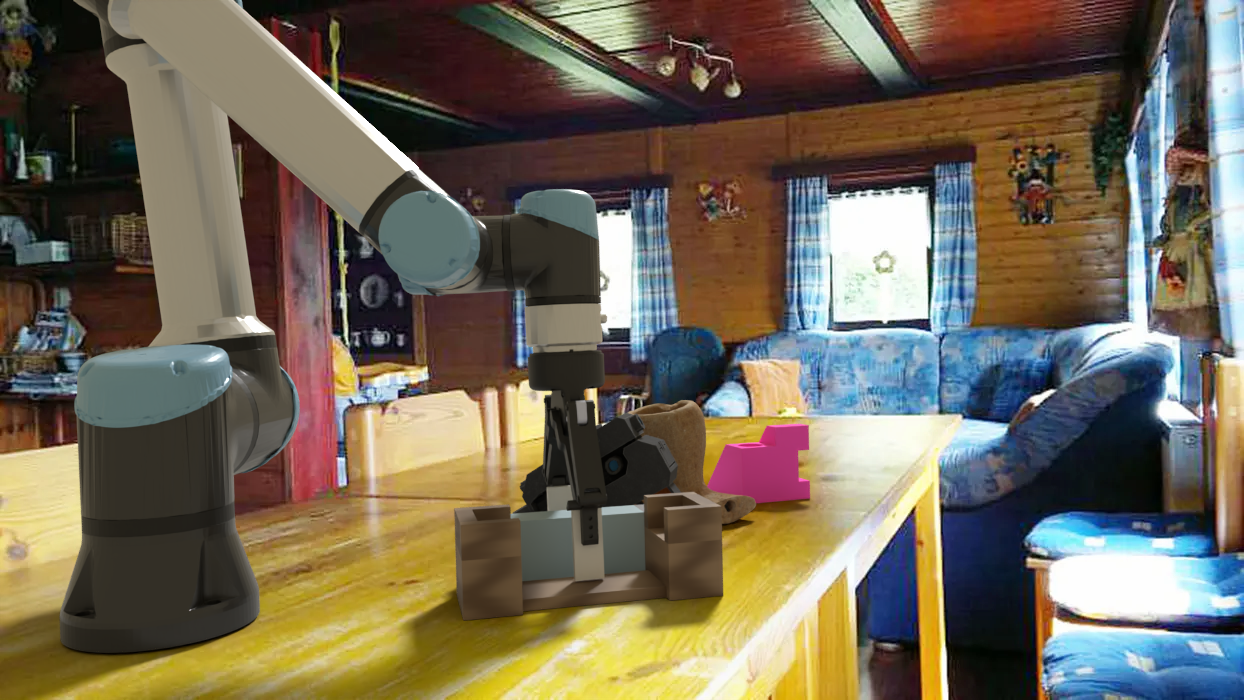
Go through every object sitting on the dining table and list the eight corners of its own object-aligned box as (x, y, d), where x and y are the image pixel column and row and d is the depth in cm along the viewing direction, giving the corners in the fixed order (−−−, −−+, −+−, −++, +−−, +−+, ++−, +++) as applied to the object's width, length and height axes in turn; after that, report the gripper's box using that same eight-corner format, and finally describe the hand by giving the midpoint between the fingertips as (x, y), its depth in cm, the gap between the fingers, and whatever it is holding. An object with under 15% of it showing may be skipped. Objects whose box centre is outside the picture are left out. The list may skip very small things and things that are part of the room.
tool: (702, 523, 102) (631, 403, 103) (555, 606, 105) (488, 489, 107) (708, 512, 108) (641, 399, 109) (569, 591, 111) (506, 480, 113)
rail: (482, 587, 89) (480, 524, 89) (478, 576, 93) (476, 516, 93) (664, 571, 93) (663, 510, 93) (653, 561, 97) (652, 503, 97)
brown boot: (604, 522, 118) (601, 403, 118) (660, 507, 127) (657, 396, 127) (706, 536, 109) (703, 406, 108) (758, 518, 118) (756, 399, 118)
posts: (463, 620, 79) (460, 525, 79) (456, 594, 87) (454, 508, 86) (723, 595, 84) (721, 506, 84) (695, 573, 92) (693, 491, 92)
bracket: (810, 499, 131) (808, 425, 131) (743, 505, 128) (741, 429, 128) (770, 486, 142) (768, 418, 142) (707, 491, 139) (705, 422, 139)
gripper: (634, 347, 82) (644, 589, 82) (578, 347, 106) (586, 534, 107) (548, 351, 80) (559, 599, 80) (511, 350, 104) (520, 540, 105)
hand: (575, 563), depth 93 cm, fingers open, 13 cm apart
